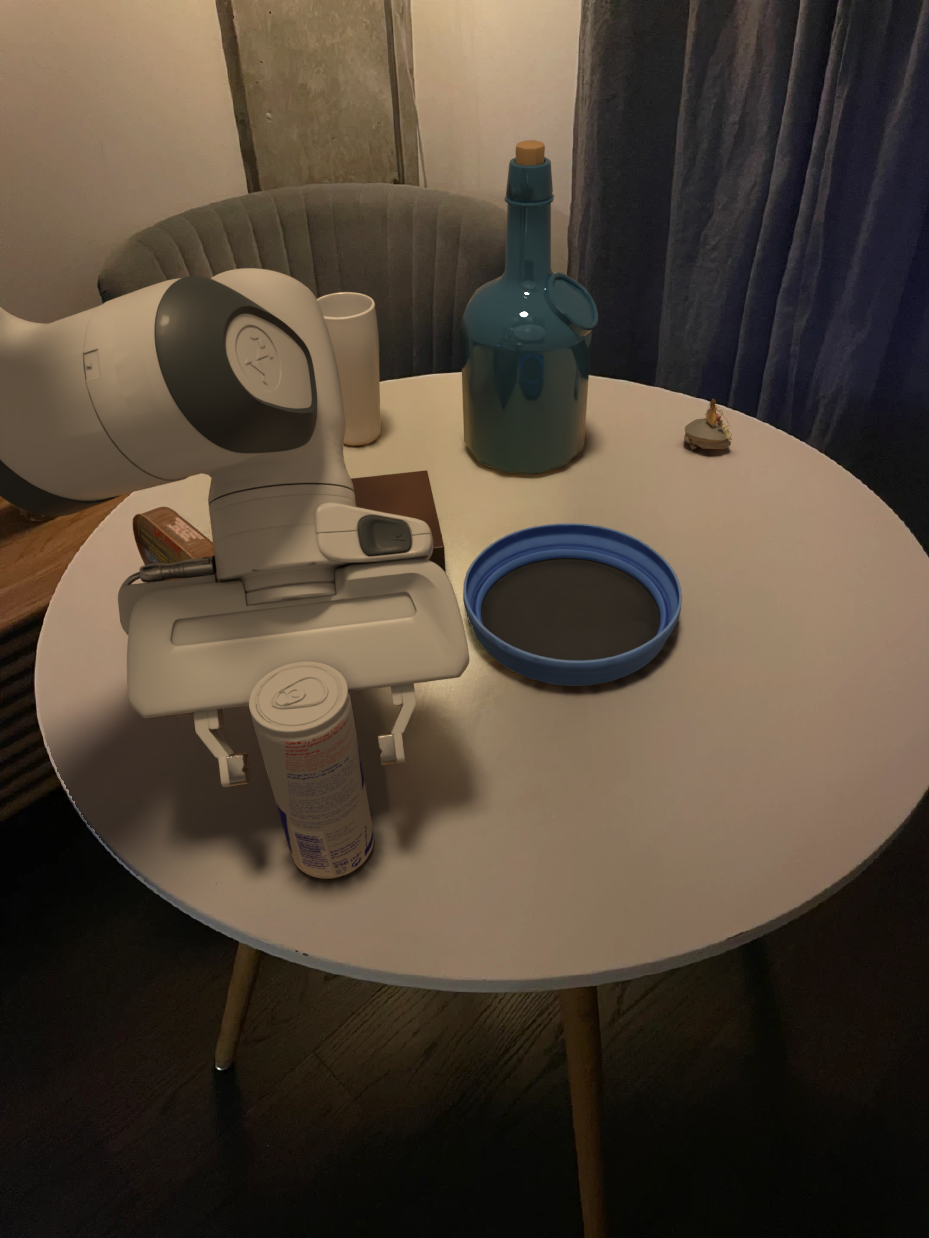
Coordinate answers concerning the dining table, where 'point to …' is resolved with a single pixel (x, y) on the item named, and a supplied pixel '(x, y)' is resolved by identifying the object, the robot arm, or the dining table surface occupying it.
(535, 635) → the bowl
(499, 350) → the wine bottle
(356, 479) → the shelf
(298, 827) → the beverage can
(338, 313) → the drinking glass
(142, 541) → the tin
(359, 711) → the dining table surface
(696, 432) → the figurine
